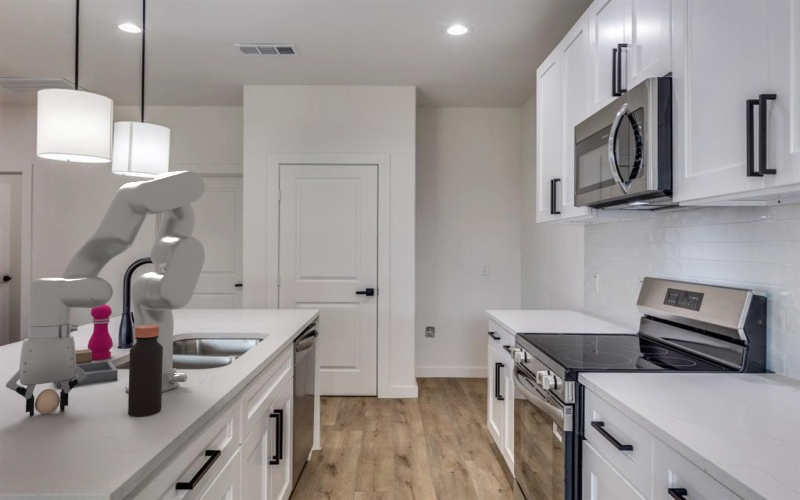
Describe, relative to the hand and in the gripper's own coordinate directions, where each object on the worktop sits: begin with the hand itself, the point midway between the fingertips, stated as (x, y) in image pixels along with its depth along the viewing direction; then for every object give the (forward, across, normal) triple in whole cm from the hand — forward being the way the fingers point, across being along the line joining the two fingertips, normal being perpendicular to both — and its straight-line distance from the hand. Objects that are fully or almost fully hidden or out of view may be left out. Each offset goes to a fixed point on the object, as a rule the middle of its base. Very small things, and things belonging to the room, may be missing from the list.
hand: (47, 411), depth 103 cm
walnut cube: (+1, -10, -45) cm, 46 cm away
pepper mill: (+1, -16, -55) cm, 57 cm away
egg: (+1, 0, 0) cm, 1 cm away
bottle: (+1, -18, +12) cm, 21 cm away
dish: (+1, -10, -29) cm, 30 cm away
